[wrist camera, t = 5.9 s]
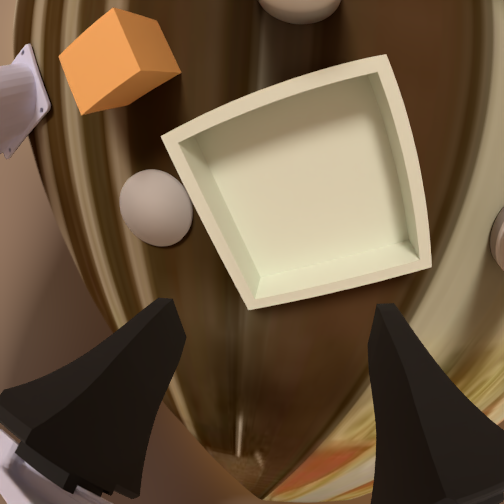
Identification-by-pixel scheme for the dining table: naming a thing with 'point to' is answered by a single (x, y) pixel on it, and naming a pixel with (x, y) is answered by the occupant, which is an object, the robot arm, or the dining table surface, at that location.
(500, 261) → the travel mug
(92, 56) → the block
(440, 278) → the dining table surface
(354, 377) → the dining table surface
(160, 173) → the grey flat disc
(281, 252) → the tray
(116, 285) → the dining table surface
